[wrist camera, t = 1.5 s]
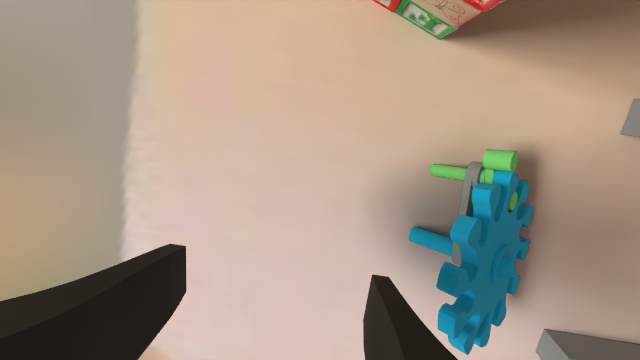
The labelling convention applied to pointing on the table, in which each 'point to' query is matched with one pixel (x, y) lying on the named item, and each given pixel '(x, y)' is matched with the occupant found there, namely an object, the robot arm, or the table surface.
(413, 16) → the stack of blocks
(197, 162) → the table surface
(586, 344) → the gear frame
